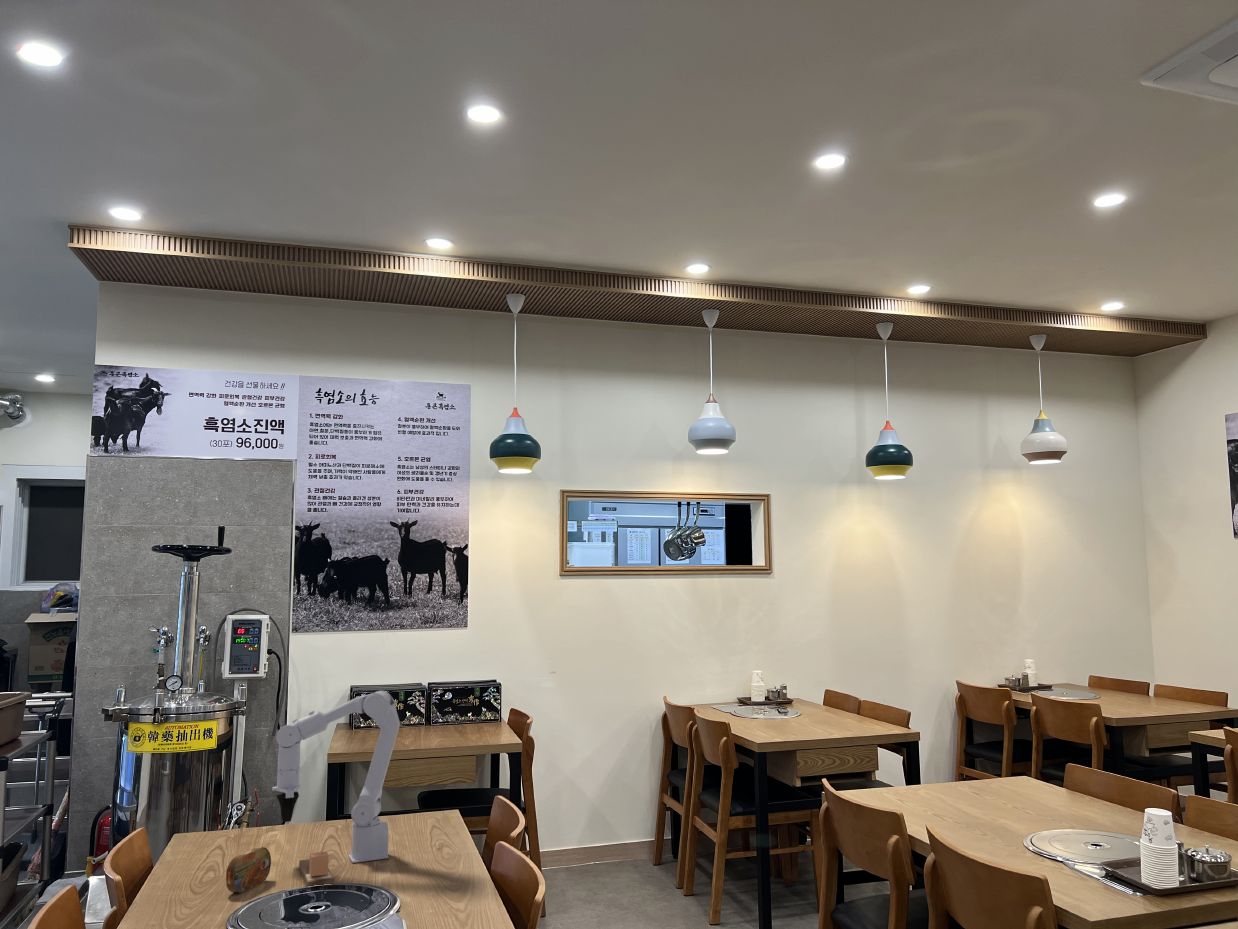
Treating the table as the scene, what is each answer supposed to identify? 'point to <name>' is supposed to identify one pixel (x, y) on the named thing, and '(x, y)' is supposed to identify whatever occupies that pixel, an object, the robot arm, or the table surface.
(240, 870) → the tin
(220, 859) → the table surface
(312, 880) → the track
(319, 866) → the slider
